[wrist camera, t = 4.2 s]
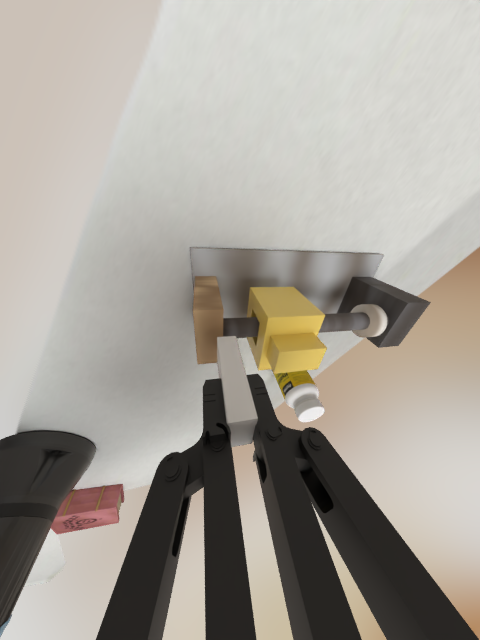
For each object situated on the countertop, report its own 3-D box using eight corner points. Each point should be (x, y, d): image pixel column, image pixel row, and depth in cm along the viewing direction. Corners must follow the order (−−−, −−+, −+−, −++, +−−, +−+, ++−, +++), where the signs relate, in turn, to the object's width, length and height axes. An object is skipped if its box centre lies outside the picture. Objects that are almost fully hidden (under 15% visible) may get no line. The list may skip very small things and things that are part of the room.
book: (122, 481, 48) (115, 506, 44) (124, 499, 56) (118, 522, 51) (56, 489, 44) (42, 518, 40) (68, 507, 51) (56, 534, 47)
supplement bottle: (274, 353, 31) (300, 406, 23) (302, 351, 32) (336, 401, 24) (268, 374, 34) (289, 427, 26) (293, 371, 35) (322, 422, 27)
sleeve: (245, 332, 22) (264, 388, 15) (250, 287, 18) (277, 333, 12) (282, 330, 23) (316, 381, 16) (293, 286, 19) (341, 329, 13)
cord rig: (197, 334, 25) (196, 387, 18) (190, 247, 19) (184, 274, 12) (345, 325, 30) (391, 364, 23) (380, 253, 24) (460, 276, 16)
